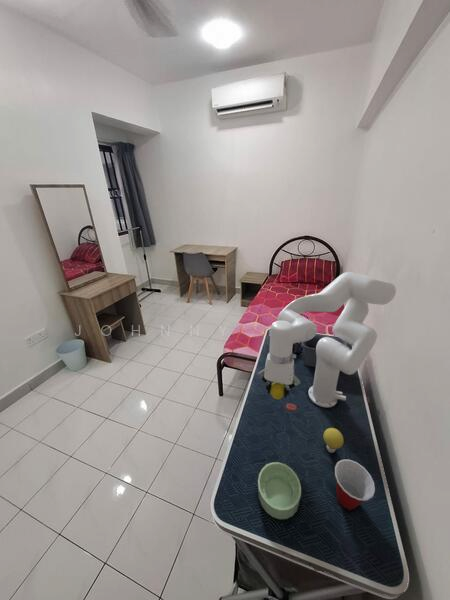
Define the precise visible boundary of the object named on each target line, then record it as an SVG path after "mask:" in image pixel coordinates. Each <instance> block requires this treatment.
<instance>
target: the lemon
mask: <svg viewBox="0 0 450 600" xmlns="http://www.w3.org/2000/svg"><path fill="white" fill-rule="evenodd" d="M285 387H286V386H285V384H282V383H277V382H273V381H272V382H271V387H270V396H271V397H272V398H273V399H275V400H282V399H283V398H285V397H284V396H285Z"/></svg>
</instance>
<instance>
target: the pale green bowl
mask: <svg viewBox="0 0 450 600" xmlns="http://www.w3.org/2000/svg"><path fill="white" fill-rule="evenodd" d="M257 497H258V500H259V503H260V505H261V507H262V508H263V510H264V511H265V513H267V514H268V515H270V516H271V517H272V518H275V519H278V520H288V519H289V518H291V517H294V515H295V514H296V513H297V512H298V510H299V507H300V504H301V503H300V502H301V497H302V486H301V481H300V478H299V477H298V475H297V472H295V471H294V470H293V469H292V468H291V467H290V466H288V465H287V464H285V463H283V462H280V461H273V462H269V463H266V464H265V465H264V466H263V467H262V468H261V470H260V472H259V474H258V478H257Z"/></svg>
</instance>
